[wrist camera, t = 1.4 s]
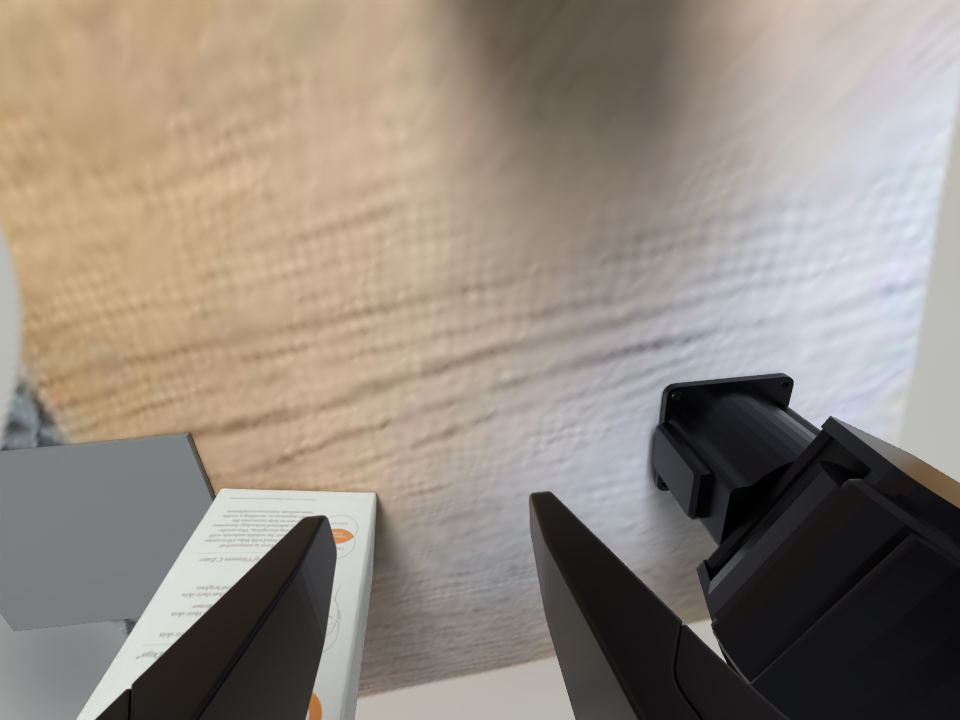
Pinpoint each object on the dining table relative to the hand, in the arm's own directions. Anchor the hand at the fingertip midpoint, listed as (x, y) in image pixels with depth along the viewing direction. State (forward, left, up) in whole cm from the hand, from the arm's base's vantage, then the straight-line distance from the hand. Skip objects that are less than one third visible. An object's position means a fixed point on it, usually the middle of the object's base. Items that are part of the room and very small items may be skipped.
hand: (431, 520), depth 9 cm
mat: (+20, +11, -13) cm, 26 cm away
